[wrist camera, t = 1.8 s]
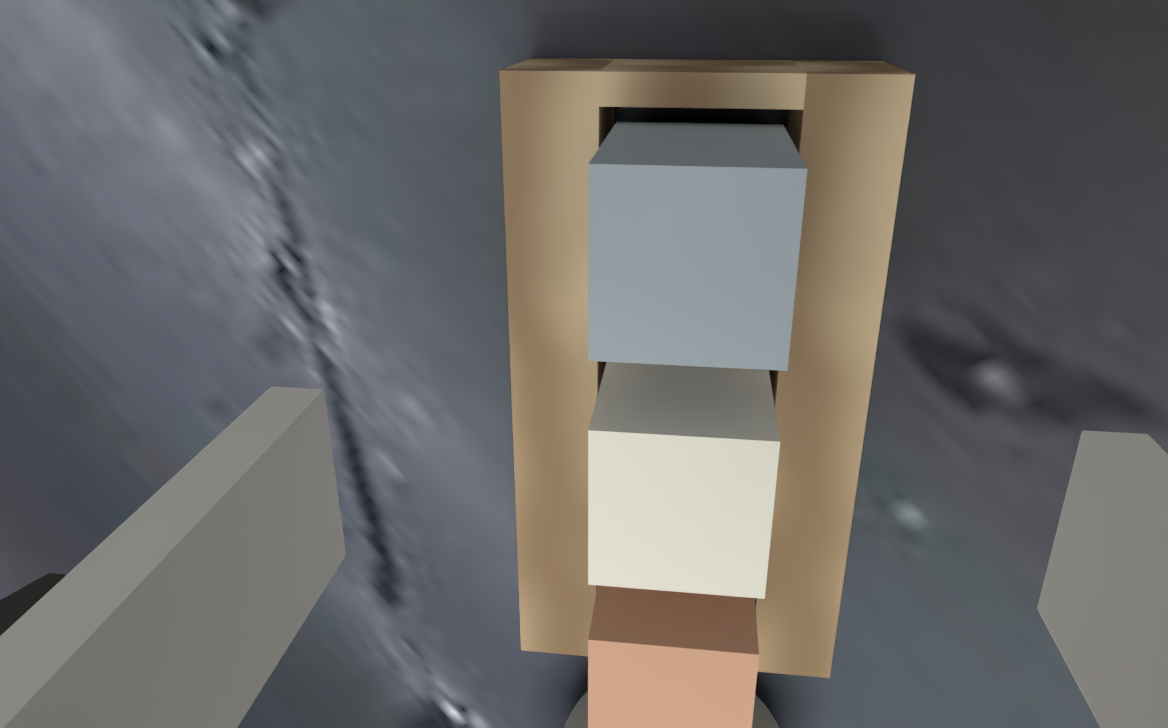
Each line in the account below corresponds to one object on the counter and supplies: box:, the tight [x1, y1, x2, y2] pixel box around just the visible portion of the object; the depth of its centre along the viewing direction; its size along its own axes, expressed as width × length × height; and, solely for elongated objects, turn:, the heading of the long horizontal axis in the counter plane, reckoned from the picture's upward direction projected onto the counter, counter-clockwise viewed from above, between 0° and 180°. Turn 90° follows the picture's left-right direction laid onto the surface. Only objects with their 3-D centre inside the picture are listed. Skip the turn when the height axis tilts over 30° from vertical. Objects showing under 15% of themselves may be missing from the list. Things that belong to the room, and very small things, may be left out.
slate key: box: [588, 122, 807, 371], centre depth 24 cm, size 5×5×7 cm
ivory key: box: [588, 362, 780, 599], centre depth 27 cm, size 5×5×7 cm
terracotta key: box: [588, 585, 759, 728], centre depth 30 cm, size 5×5×7 cm
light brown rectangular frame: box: [499, 58, 915, 678], centre depth 32 cm, size 12×22×5 cm, turn 0°
